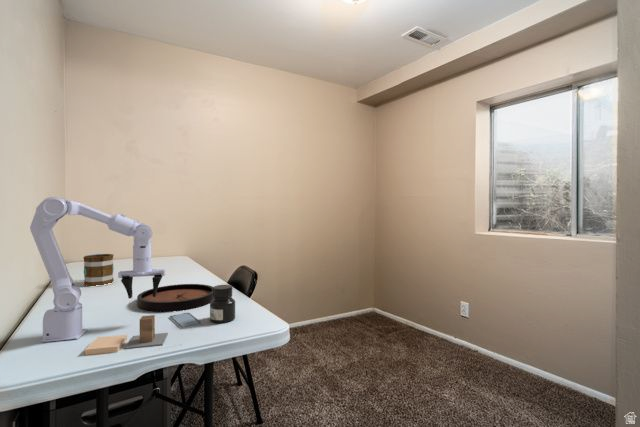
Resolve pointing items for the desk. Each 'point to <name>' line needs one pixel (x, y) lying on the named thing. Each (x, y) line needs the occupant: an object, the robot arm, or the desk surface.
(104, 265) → the mug
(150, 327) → the block
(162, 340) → the mat
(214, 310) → the ink bottle
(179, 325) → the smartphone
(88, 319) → the desk surface
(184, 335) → the desk surface
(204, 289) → the wall clock
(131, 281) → the robot arm
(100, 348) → the clay tile
